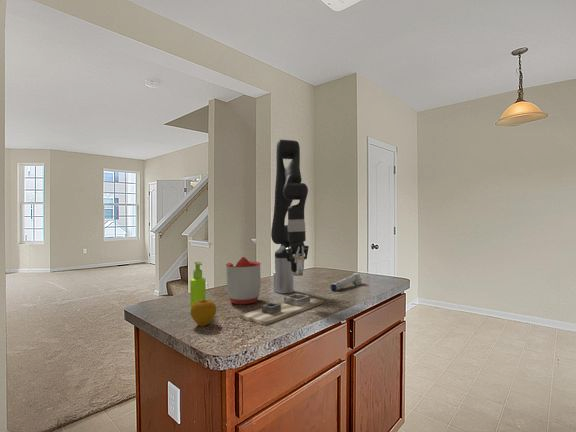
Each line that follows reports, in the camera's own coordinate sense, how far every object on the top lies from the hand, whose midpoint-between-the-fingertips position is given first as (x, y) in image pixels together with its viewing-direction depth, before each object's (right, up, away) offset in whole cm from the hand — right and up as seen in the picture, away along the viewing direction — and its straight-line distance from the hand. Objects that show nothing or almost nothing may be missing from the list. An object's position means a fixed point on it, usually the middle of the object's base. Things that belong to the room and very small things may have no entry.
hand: (297, 270), depth 137 cm
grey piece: (+27, -15, +34) cm, 46 cm away
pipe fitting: (0, -2, 0) cm, 2 cm away
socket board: (-5, -15, -6) cm, 17 cm away
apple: (-34, -16, -23) cm, 43 cm away
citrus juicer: (-24, -15, +9) cm, 30 cm away
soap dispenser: (-40, -16, -7) cm, 43 cm away
